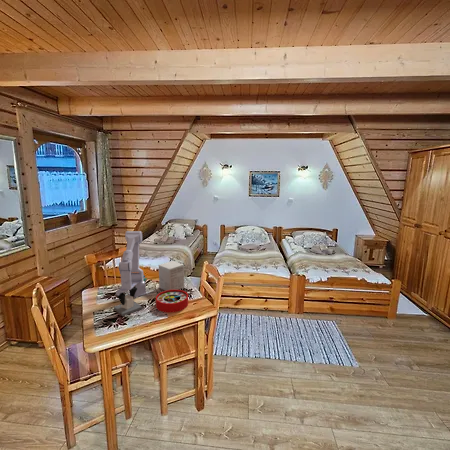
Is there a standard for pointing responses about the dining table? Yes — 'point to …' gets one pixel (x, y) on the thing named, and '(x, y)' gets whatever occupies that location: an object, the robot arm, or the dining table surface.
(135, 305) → the stub plate
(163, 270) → the supplement box
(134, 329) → the dining table surface
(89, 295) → the dining table surface
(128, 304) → the block
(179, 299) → the toy clock
